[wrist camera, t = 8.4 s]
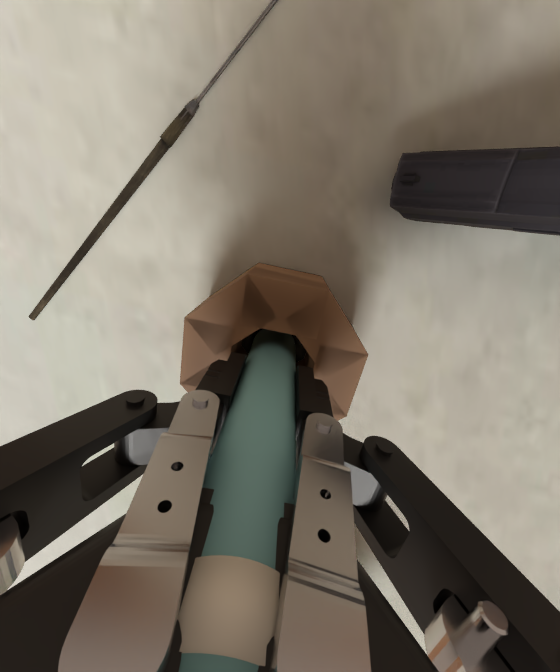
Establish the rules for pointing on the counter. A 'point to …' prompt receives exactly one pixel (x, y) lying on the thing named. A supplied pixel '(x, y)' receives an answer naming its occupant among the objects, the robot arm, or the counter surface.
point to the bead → (276, 328)
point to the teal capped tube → (244, 517)
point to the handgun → (481, 188)
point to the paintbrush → (141, 174)
